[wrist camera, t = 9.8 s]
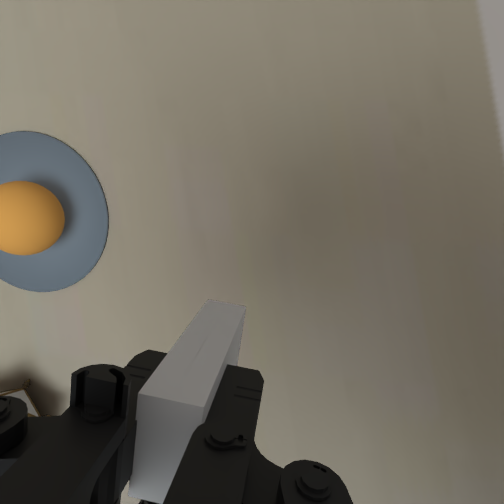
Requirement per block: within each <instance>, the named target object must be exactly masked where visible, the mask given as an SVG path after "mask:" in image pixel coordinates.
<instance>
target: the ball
mask: <svg viewBox="0 0 504 504" xmlns="http://www.w3.org/2000/svg"><path fill="white" fill-rule="evenodd" d="M64 224H65V216H64V211H63V208H62V205H61V203H60V202H59V200H58V199H57V198H56V196H55V195H54V194H53V193H52V192H51V191H49V190H48V189H46V188H45V187H43V186H41V185H39V184H36V183H33V182H28V181H11V182H7V183H3V184H1V185H0V250H2V251H4V252H7V253H10V254H14V255H32V254H37V253H40V252H42V251H44V250H46V249H48V248H49V247H51V246H52V245H53V244H54V243H55V242H56V241H57V240H58V239H59V237H60V236H61V234H62V232H63V228H64Z"/></svg>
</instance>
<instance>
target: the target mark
mask: <svg viewBox="0 0 504 504" xmlns="http://www.w3.org/2000/svg"><path fill="white" fill-rule="evenodd" d="M11 181H28V182H33V183H36V184H39V185H41V186H43V187H45V188H46V189H48V190H49V191H51V192H52V193H53V194H54V195H55V196H56V198H57V199H58V200H59V202H60V203H61V205H62V208H63V211H64V216H65V224H64V228H63V232H62V234H61V236H60V237H59V239H58V240H57V241H56V242H55V243H54V244H53V245H52V246H51V247H49V248H48V249H46V250H44V251H42V252H40V253H37V254H32V255H14V254H10V253H7V252H4V251H2V250H0V279H2V280H3V281H5V282H7V283H9V284H11V285H13V286H15V287H18V288H21V289H25V290H29V291H36V292H50V291H56V290H60V289H63V288H66V287H68V286H71V285H73V284H75V283H76V282H78V281H79V280H81V279H82V278H84V277H85V276H86V275H87V274H88V273H89V272H90V271H91V270H92V269H93V267H94V266H95V265H96V263H97V262H98V260H99V258H100V257H101V254H102V252H103V250H104V247H105V243H106V240H107V234H108V209H107V204H106V200H105V196H104V193H103V190H102V188H101V185H100V183H99V181H98V179H97V177H96V175H95V174H94V172H93V171H92V169H91V168H90V166H89V165H88V164H87V163H86V162H85V160H84V159H83V158H82V157H81V156H80V155H79V154H78V153H77V152H75V151H74V150H73V149H72V148H70V147H69V146H68V145H66V144H65V143H63V142H61V141H59V140H57V139H55V138H53V137H50V136H47V135H45V134H40V133H36V132H26V131H20V132H11V133H6V134H3V135H0V185H1V184H3V183H7V182H11Z"/></svg>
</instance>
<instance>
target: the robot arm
mask: <svg viewBox="0 0 504 504" xmlns="http://www.w3.org/2000/svg"><path fill="white" fill-rule="evenodd" d="M245 311H246V306H242V305H236V304H231V303H225V302H220V301H215V300H209V299H208V300H207V301H206V303H205V304H204V305H203V307H202V308H201V309H200V311H199V312H198V313H197V315H196V316H195V317H194V319H193V320H192V321H191V323H190V324H189V325H188V327H187V328H186V329H185V331H184V332H183V333H182V335H181V336H180V338H179V339H178V340H177V342H176V343H175V344H174V346H173V347H172V348H171V350H170V351H169V352H168V353H163V352H158V351H153V350H146V351H144V352H142V353H140V354H138V355H136V356H134V358H133V359H132V360H131V361H130V362H129V363H128V364H127V366H125V367H124V368H121V367H118V366H115V365H108V364H98V365H90V366H87V367H83V368H80V369H78V370H77V371H75V372H73V373H72V377H71V395H70V407H69V408H68V409H67V410H66V411H65V412H64V413H63V414H62V415H61V416H35V417H28V408H27V404H26V403H25V402H24V401H23V400H21V399H20V398H16V397H12V396H0V504H120V499H121V492H122V491H123V489H124V487H125V485H126V484H127V482H128V480H129V478H130V482H129V493H128V496H130V497H134V498H138V499H142V500H147V501H151V502H155V503H159V504H353V502H352V500H351V497H350V495H349V493H348V490H347V488H346V486H345V484H344V483H343V481H342V480H341V478H340V477H339V476H338V475H337V474H336V473H335V472H334V471H333V470H331V469H330V468H329V467H327V466H325V465H323V464H320V463H318V462H314V461H309V460H299V461H293V462H292V463H290V464H288V465H286V466H285V468H284V469H283V468H281V467H279V466H277V465H275V464H274V463H272V462H270V461H269V460H267V459H266V458H265V457H264V456H263V455H262V454H261V453H260V452H259V450H258V449H257V447H256V445H255V442H254V436H255V430H256V425H257V419H258V413H259V408H260V402H261V396H262V390H263V384H264V380H263V378H262V376H261V374H260V372H259V371H258V370H253V369H248V368H243V367H238V366H237V363H238V356H239V350H240V343H241V337H242V331H243V324H244V318H245Z"/></svg>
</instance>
